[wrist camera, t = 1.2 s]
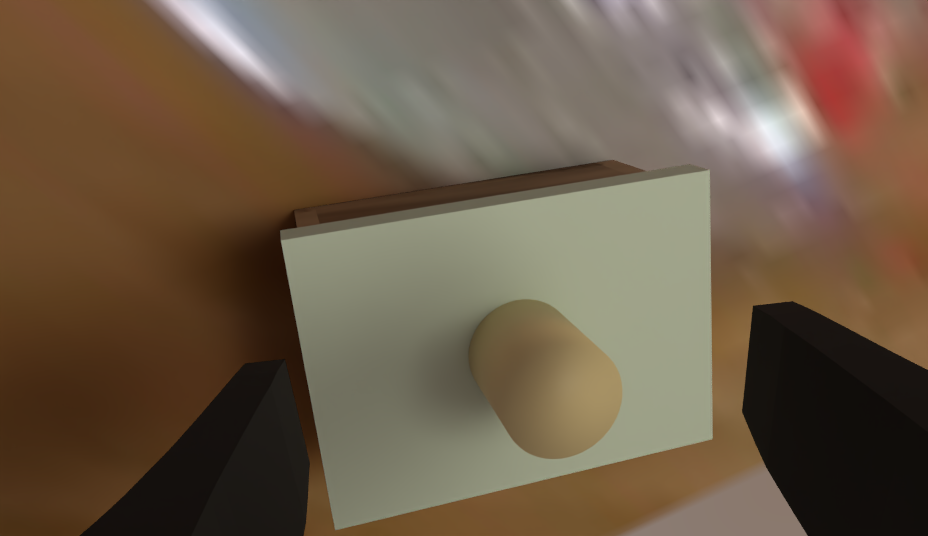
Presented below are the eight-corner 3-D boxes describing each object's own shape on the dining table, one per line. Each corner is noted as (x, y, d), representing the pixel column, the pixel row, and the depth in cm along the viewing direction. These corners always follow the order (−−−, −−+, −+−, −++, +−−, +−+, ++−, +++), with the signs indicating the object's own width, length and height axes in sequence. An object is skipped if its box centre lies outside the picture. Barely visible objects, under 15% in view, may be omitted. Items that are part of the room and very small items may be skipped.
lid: (694, 423, 23) (777, 497, 19) (332, 508, 21) (346, 609, 17) (689, 164, 21) (783, 191, 17) (279, 230, 18) (284, 277, 15)
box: (623, 361, 26) (682, 413, 23) (332, 423, 24) (344, 491, 21) (613, 159, 24) (676, 181, 21) (293, 210, 22) (299, 243, 19)
